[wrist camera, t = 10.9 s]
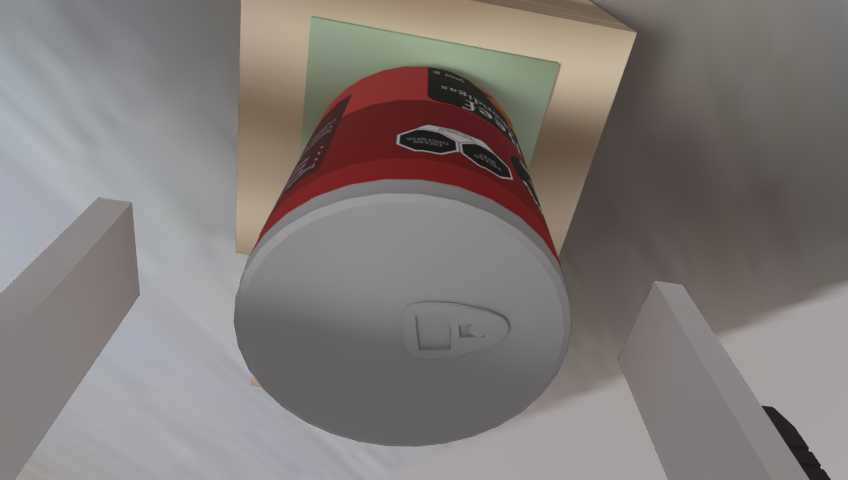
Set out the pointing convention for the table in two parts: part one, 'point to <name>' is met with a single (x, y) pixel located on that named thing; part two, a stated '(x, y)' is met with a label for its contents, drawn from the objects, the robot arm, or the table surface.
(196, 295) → the table surface
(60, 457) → the table surface
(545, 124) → the stand
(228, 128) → the table surface
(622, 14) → the table surface
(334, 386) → the canned food
